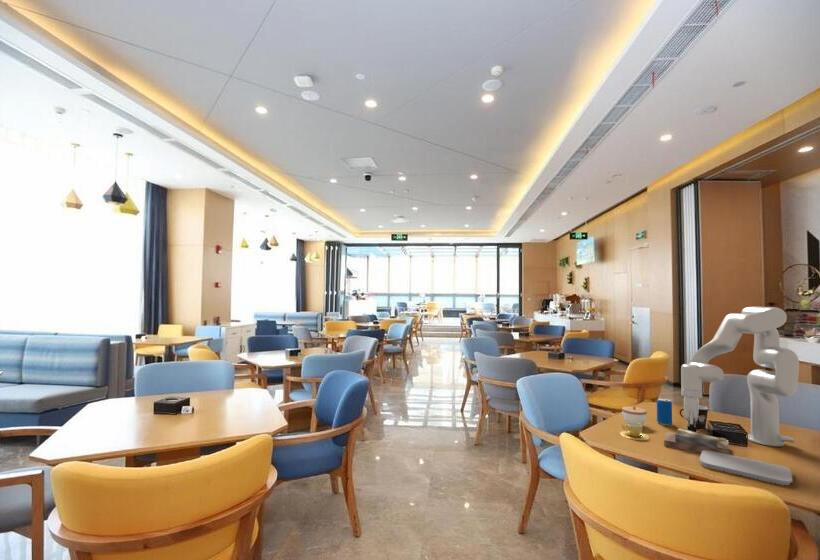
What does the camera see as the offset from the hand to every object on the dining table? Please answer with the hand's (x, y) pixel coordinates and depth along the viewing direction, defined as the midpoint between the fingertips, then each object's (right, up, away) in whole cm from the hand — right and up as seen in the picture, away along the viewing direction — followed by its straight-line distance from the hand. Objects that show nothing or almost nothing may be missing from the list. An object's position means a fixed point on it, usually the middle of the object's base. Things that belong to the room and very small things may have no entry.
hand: (692, 435), depth 176 cm
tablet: (+1, -3, -26) cm, 26 cm away
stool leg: (0, -1, -6) cm, 6 cm away
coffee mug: (+16, -5, +22) cm, 28 cm away
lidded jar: (-12, -5, +24) cm, 27 cm away
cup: (-20, -4, +9) cm, 23 cm away
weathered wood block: (-2, -3, -4) cm, 6 cm away
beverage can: (+5, -5, +27) cm, 28 cm away
